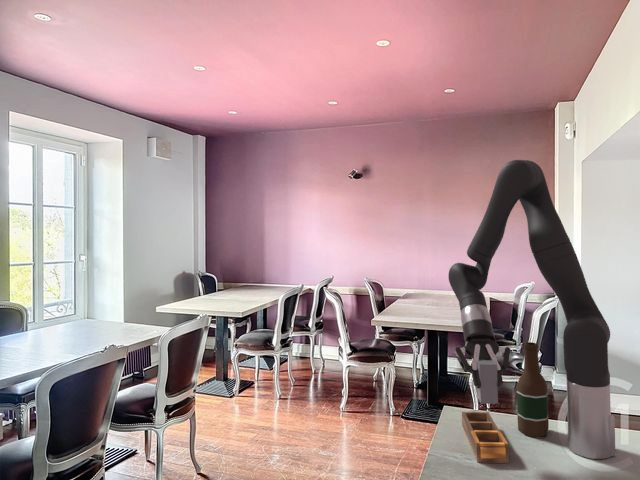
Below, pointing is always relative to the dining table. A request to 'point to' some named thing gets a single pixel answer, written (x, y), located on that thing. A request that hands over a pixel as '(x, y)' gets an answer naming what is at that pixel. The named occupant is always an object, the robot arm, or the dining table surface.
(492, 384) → the block
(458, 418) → the dining table surface
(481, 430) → the bay rack
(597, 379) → the robot arm
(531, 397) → the beer bottle
